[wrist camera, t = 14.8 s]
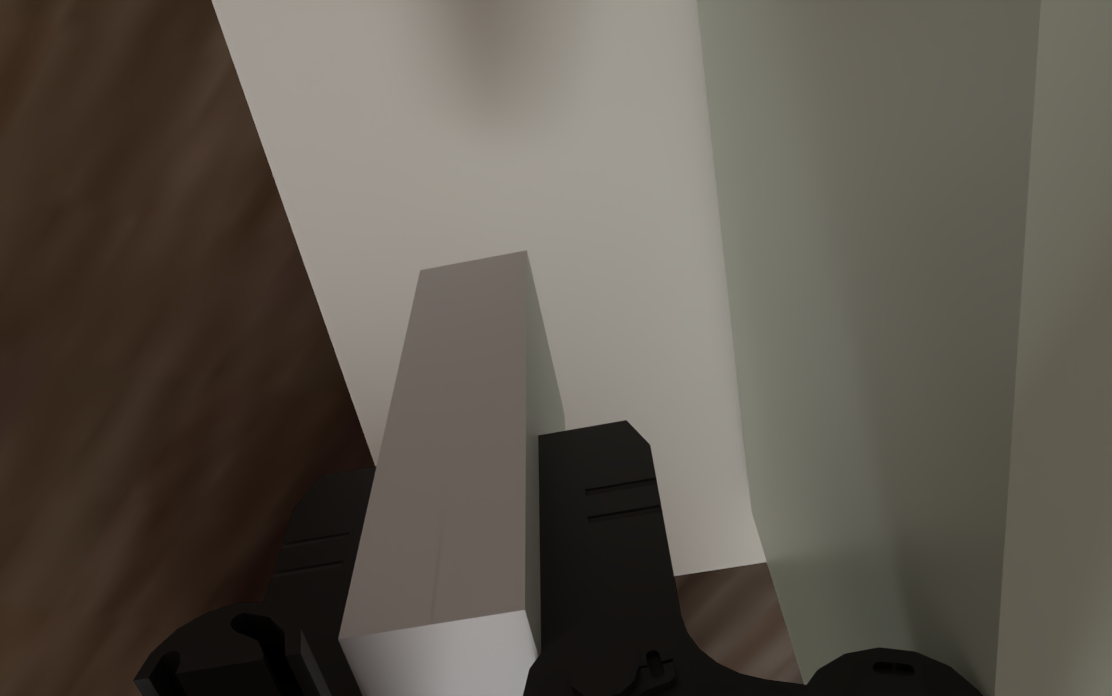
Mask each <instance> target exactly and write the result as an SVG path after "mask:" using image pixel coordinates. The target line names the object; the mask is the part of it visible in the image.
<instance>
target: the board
mask: <svg viewBox="0 0 1112 696" xmlns="http://www.w3.org/2000/svg"><path fill="white" fill-rule="evenodd" d="M212 3H213V6H214V9H215V11H216V14H217V17H218V20H219V23H220V26H221V29H222V31H223V34H224V37H225V40H226V43H227V46H228V48H229V51H230V54H231V57H232V60H233V63H234V66H235V68H236V71H237V74H238V77H239V80H240V83H241V85H242V88H243V91H244V94H245V97H246V100H247V103H248V105H249V108H250V111H251V114H252V117H253V120H254V122H255V125H256V128H257V131H258V134H259V137H260V140H261V142H262V145H263V148H264V151H265V154H266V157H267V159H268V162H269V165H270V168H271V171H272V174H273V177H274V179H275V182H276V185H277V188H278V191H279V194H280V196H281V199H282V202H283V205H284V208H285V211H286V214H287V216H288V219H289V222H290V225H291V228H292V231H293V233H294V236H295V239H296V242H297V245H298V248H299V251H300V253H301V256H302V259H303V262H304V265H305V268H306V270H307V273H308V276H309V279H310V282H311V285H312V288H313V290H314V293H315V296H316V299H317V302H318V305H319V307H320V310H321V313H322V316H323V319H324V322H325V325H326V327H327V330H328V333H329V336H330V339H331V342H332V344H333V347H334V350H335V353H336V356H337V359H338V362H339V364H340V367H341V370H342V373H343V376H344V379H345V381H346V384H347V387H348V390H349V393H350V396H351V399H352V401H353V404H354V407H355V410H356V413H357V416H358V418H359V421H360V424H361V427H362V430H363V433H364V436H365V438H366V441H367V444H368V447H369V450H370V453H371V455H372V458H373V461H374V464H375V466H377V462H378V458H379V453H380V449H381V444H382V440H383V435H384V431H385V426H386V422H387V417H388V413H389V408H390V404H391V399H392V395H393V390H394V386H395V381H396V377H397V372H398V368H399V363H400V359H401V354H402V350H403V345H404V341H405V336H406V332H407V327H408V323H409V318H410V314H411V309H412V305H413V300H414V296H415V291H416V287H417V282H418V278H419V273H420V270H424V269H429V268H435V267H440V266H445V265H451V264H456V263H461V262H467V261H472V260H477V259H483V258H488V257H493V256H499V255H504V254H509V253H515V252H520V251H525V250H527V253H528V257H529V262H530V266H531V270H532V275H533V279H534V283H535V288H536V292H537V296H538V301H539V305H540V309H541V314H542V318H543V323H544V327H545V331H546V336H547V340H548V344H549V349H550V353H551V357H552V362H553V366H554V370H555V375H556V379H557V383H558V388H559V392H560V397H561V401H562V405H563V410H564V414H565V431H566V430H572V429H578V428H584V427H589V426H595V425H601V424H607V423H613V422H618V421H624V420H627V421H628V422H629V423H630V424H631V425H632V426H633V427H634V428H635V429H636V430H637V432H638V433H639V434H640V435H641V436H642V437H643V438H644V439H645V440H646V441H647V442H648V443H649V444H650V446H651V452H652V457H653V463H654V468H655V474H656V479H657V485H658V490H659V496H660V501H661V507H662V512H663V518H664V524H665V529H666V535H667V540H668V546H669V551H670V557H671V562H672V568H673V573H674V576H679V575H685V574H692V573H698V572H705V571H711V570H718V569H724V568H731V567H737V566H744V565H750V564H757V563H763V562H767V561H766V558H765V554H764V551H763V548H762V545H761V541H760V538H759V535H758V531H757V528H756V525H755V521H754V518H753V515H752V512H751V503H750V493H749V484H748V475H747V465H746V456H745V446H744V437H743V428H742V418H741V409H740V400H739V390H738V381H737V371H736V362H735V353H734V343H733V334H732V325H731V315H730V306H729V296H728V287H727V278H726V268H725V259H724V250H723V240H722V231H721V221H720V212H719V203H718V193H717V184H716V175H715V165H714V156H713V146H712V137H711V128H710V118H709V109H708V100H707V90H706V81H705V71H704V62H703V53H702V43H701V34H700V25H699V15H698V6H697V0H212Z"/></svg>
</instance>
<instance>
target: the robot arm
mask: <svg viewBox="0 0 1112 696" xmlns="http://www.w3.org/2000/svg"><path fill="white" fill-rule="evenodd" d="M273 573H274V579H271V580H270V584H269V587H268V590H267V593H266V596H265V599H264V602H258V603H236V604H233V605H230V606H226V607H223V608H220V609H216V610H213V611H210V612H207V613H205V614H203V615H202V616H200V617H198V618H196V619H195V620H193V621H191V622H189V623H188V624H186V625H184V626H182V627H181V628H179V629H177V630H176V631H175V632H174V633H173V634H171V635H170V636H169V637H168V638H167V639H166V640H165V641H164V642H163V643H162V644H160V645H159V646H158V647H157V648H156V649H155V650H154V651H153V652H152V653H151V654H150V655H149V657H148V658H147V660H146V661H145V663H144V665H143V666H142V668H141V669H140V671H139V672H138V674H137V675H136V677H135V678H134V680H133V681H134V682H135V684H136V686H137V687H138V689H139V691H140V692H141V694H142V695H143V696H983V695H982V694H981V693H980V691H979V690H978V689H976V688H975V687H974V686H973V685H972V684H971V683H969V682H968V681H967V680H966V679H965V678H964V677H962V676H961V675H960V674H959V673H958V672H957V671H955V670H954V669H953V668H952V667H951V666H949V665H946V664H944V663H941V662H939V661H937V660H934V659H932V658H930V657H927V656H925V655H923V654H920V653H918V652H915V651H907V650H898V649H890V648H881V647H878V648H872V649H867V650H862V651H856V652H851V653H845V654H843V655H842V656H840V657H838V658H837V659H835V660H833V661H831V662H830V663H828V664H826V665H825V666H823V667H821V668H819V669H818V670H817V671H816V672H815V674H814V675H813V677H812V678H811V679H810V681H809V682H808V684H807V685H804V684H796V683H789V682H781V681H773V680H766V679H761V678H757V677H753V676H749V675H744V674H740V673H738V672H736V671H733V670H731V669H729V668H727V667H725V666H723V665H721V664H718V663H717V662H715V661H714V660H713V659H712V658H710V657H709V656H708V655H707V654H705V653H704V652H703V651H702V650H700V649H699V648H698V646H697V645H696V644H695V642H694V641H693V639H692V638H691V637H690V635H689V634H688V633H687V630H686V627H685V625H684V622H683V619H682V616H681V612H680V606H679V601H678V595H677V590H676V584H675V579H674V573H673V568H672V562H671V557H670V551H669V546H668V540H667V535H666V529H665V524H664V518H663V512H662V507H661V501H660V496H659V490H658V485H657V479H656V474H655V468H654V463H653V457H652V452H651V446H650V444H649V443H648V442H647V441H646V440H645V439H644V438H643V437H642V436H641V435H640V434H639V433H638V432H637V430H636V429H635V428H634V427H633V426H632V425H631V424H630V423H629V422H628V421H627V420H624V421H618V422H613V423H607V424H601V425H595V426H589V427H584V428H578V429H572V430H566V431H565V414H564V410H563V405H562V401H561V397H560V392H559V388H558V383H557V379H556V375H555V370H554V366H553V362H552V357H551V353H550V349H549V344H548V340H547V336H546V331H545V327H544V323H543V318H542V314H541V309H540V305H539V301H538V296H537V292H536V288H535V283H534V279H533V275H532V270H531V266H530V262H529V257H528V253H527V250H525V251H520V252H515V253H509V254H504V255H499V256H493V257H488V258H483V259H477V260H472V261H467V262H461V263H456V264H451V265H445V266H440V267H435V268H429V269H424V270H420V273H419V278H418V282H417V287H416V291H415V296H414V300H413V305H412V309H411V314H410V318H409V323H408V327H407V332H406V336H405V341H404V345H403V350H402V354H401V359H400V363H399V368H398V372H397V377H396V381H395V386H394V390H393V395H392V399H391V404H390V408H389V413H388V417H387V422H386V426H385V431H384V435H383V440H382V444H381V449H380V453H379V458H378V462H377V466H375V467H370V468H364V469H358V470H352V471H346V472H340V473H335V474H329V475H323V476H320V478H319V479H318V480H317V481H316V482H315V484H314V485H313V486H312V487H311V488H310V490H309V491H308V492H307V493H306V494H305V496H304V497H303V498H302V499H301V500H300V502H299V503H298V504H297V505H296V506H295V508H294V509H293V512H292V515H291V519H290V522H289V525H288V528H287V531H286V534H285V537H284V540H283V550H280V553H279V556H278V559H277V562H276V565H275V568H274V571H273Z"/></svg>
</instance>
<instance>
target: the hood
mask: <svg viewBox="0 0 1112 696" xmlns="http://www.w3.org/2000/svg"><path fill="white" fill-rule="evenodd" d="M697 6H698V15H699V25H700V34H701V43H702V53H703V62H704V71H705V81H706V90H707V100H708V109H709V118H710V128H711V137H712V146H713V156H714V165H715V175H716V184H717V193H718V203H719V212H720V221H721V231H722V240H723V250H724V259H725V268H726V278H727V287H728V296H729V306H730V315H731V325H732V334H733V343H734V353H735V362H736V371H737V381H738V390H739V400H740V409H741V418H742V428H743V437H744V446H745V456H746V465H747V475H748V484H749V493H750V503H751V512H752V515H753V518H754V521H755V525H756V528H757V531H758V535H759V538H760V541H761V545H762V548H763V551H764V554H765V558H766V561H767V564H768V568H769V571H770V574H771V577H772V581H773V584H774V587H775V591H776V594H777V597H778V600H779V604H780V607H781V610H782V614H783V617H784V620H785V623H786V627H787V630H788V633H789V637H790V640H791V643H792V647H793V650H794V653H795V656H796V660H797V663H798V666H799V670H800V673H801V676H802V679H803V683H804V685H807V684H808V682H809V681H810V679H811V678H812V677H813V675H814V674H815V672H816V671H817V670H818V669H819V668H821V667H823V666H825V665H826V664H828V663H830V662H831V661H833V660H835V659H837V658H838V657H840V656H842V655H843V654H845V653H851V652H856V651H862V650H867V649H872V648H878V647H881V648H890V649H898V650H907V651H915V652H918V653H920V654H923V655H925V656H927V657H930V658H932V659H934V660H937V661H939V662H941V663H944V664H946V665H949V666H951V667H952V668H953V669H954V670H955V671H957V672H958V673H959V674H960V675H961V676H962V677H964V678H965V679H966V680H967V681H968V682H969V683H971V684H972V685H973V686H974V687H975V688H976V689H978V690H979V691H980V693H981V694H982V695H983V696H1112V0H697Z"/></svg>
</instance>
